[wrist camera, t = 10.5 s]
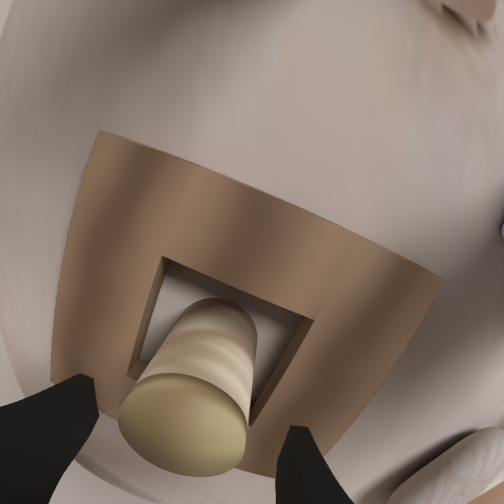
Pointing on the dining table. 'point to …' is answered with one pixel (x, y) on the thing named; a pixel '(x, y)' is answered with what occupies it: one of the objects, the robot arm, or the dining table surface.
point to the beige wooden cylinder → (195, 393)
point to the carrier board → (236, 275)
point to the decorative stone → (456, 471)
